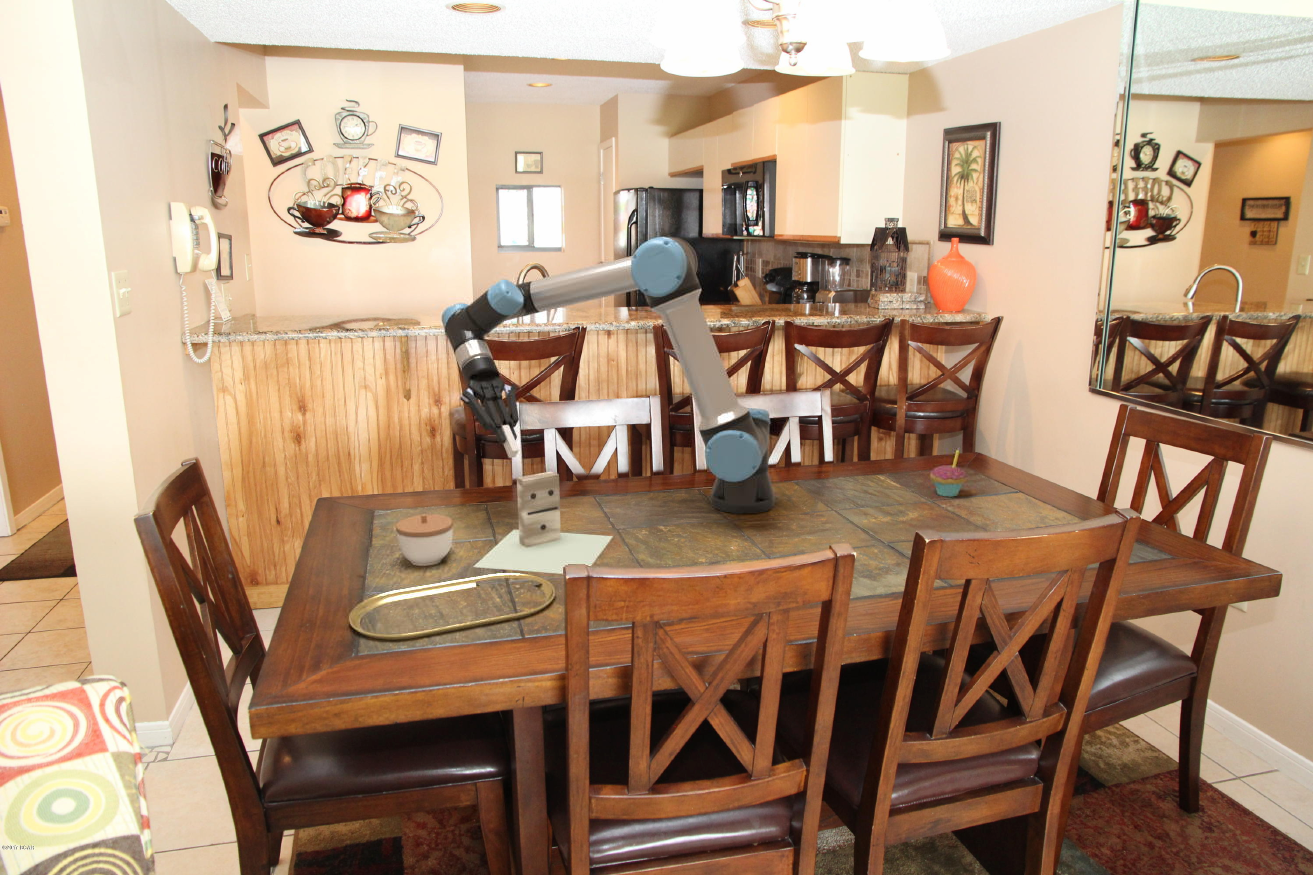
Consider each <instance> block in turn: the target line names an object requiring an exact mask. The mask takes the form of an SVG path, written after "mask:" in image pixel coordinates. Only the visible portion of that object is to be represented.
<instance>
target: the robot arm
mask: <svg viewBox="0 0 1313 875" xmlns="http://www.w3.org/2000/svg"><path fill="white" fill-rule="evenodd" d="M698 266H699V264H698V256H697V253H696V251H695V250H694V248H693V247H692V246H691V245H690V244H689V242H687V241H686V240H685V239H682V238H680V237H675V236H666V237H665V236H657V237H653V238H651V239H649V240H647V241H645V242H643V243H642V244H641V245H640V246H639V247H638V248H637V249H636V250H635V252H634V253H633V255H631V256H626V257H623V258H619V259H615V260H612V261H611V260H610V261H607V262H603V263H599V264H595V265H590V266H586V267H583V268H578V269H574V270H570V271H566V272H562V273H558V274H554V275H550V276H546V277H542V278H538V279H535V280H531V281H526V282H522V283H521V282H520V283H517V284H514V283H513V282H512V281H511V280H508V279H501V280H499V281H498V282H497V283H495V284H493V285H491V286H490V287H489V288H488V289H487V290H486V291H484V292H483V293H482V294H481V295H480V296H479V297H477V298H476V299H475V300H474V301H472V302H471V303H470V304H468V303H463V302H458V303H455V304H454V305H450V306H447V307H446V308H445V310H444V311H443V312H442V314H441V322H442V326H443V329H444V330H443V331H444V334H445V335H446V337H447V339H448V341H449V344H450V346H451V348H452V350H453V354H454V356H455V359H456V361H457V364H458V366H459V368H460V371H461V373H462V376H463V379H464V381H465V385H466V386H467V387H466V389H464V390H462V393H461V395H460V397H459V400H460V401H462V402H463V403H464V404H465V405H466V406H467V407H468V408H469V409H470V411H471V413H472V414H473V415H474V417H475V418H476V420H477V422H478V423H479V424H480V426H482V428H483V430H485V431H486V432H488V431H491V434H493V435H495V436H496V439H497V441H498V443H499V444H503V446H504V448H505V451H506V454H507V457H508V459H510V458H511V459H512V458H516V457H517V455H518V453H519V451H520V448H519V446H518V444H517V442H516V440H517V438H518V435H517V433H516V431H515V428H516V426H517V424H518V423H519V422H520V418H519V411H518V404H517V397H516V392H517V385H515V384H512V385H508V384H506V382H505V381H504V379H502V378H501V376H500V372H499V369H498V367H497V364H496V362H495V360H494V359H493V355H492V353H491V350H490V348H489V346H488V343H487V342H486V338H485V337H486V336H487V335H488V334H490V333H491V332H492V331H493V330H495V329H496V328H497V327H498V326H500V325H502V324H503V323H504V322H507V321H511V320H514V319H518V318H522V317H526V316H530V315H535V314H538V313H543V312H546V311H550V310H555V309H560V308H564V307H567V306H568V307H569V306H572V305H573V306H574V305H576V304H580V303H581V304H582V303H585V302H589V301H594V300H598V299H602V298H607V297H611V296H616V295H620V294H624V293H629V292H632V291H637V290H640V292H641V293H642V294H644V297H645V299H646V302H647V304H648V306H649V308H650V311H651V312H654V313H655V314H658V315H660V317H661V321H662V323H663V325H664V327H665V330H666V332H667V335H668V337H669V339H670V342H671V345H672V347H673V350H674V352H675V355H676V358H677V360H678V362H679V366H680V368H681V370H682V373H683V375H684V377H685V380H686V383H687V385H688V387H689V390H690V393H691V395H692V397H693V400H694V403H695V406H696V408H697V410H698V413H699V415H700V417H701V421H700V423H699V425H698V427H697V429H698V431H699V432H698V433H699V434H700V436H701V439H702V442H703V444H704V447H705V449H704V453H705V454H704V458H705V462H706V465H707V466H706V467H708V469H709V471H710V472H711V474H713V475H714V476H716V478H715V481H714V483H713V486H712V489H711V493H710V506H711V507H712V508H714V509H716V510H719V511H721V512H725V513H731V514H744V515H745V514H748V515H749V514H751V515H752V514H760V513H764V512H767V511H771V510H772V509H774V508H775V506H776V494H775V491H774V488H773V485H772V482H771V477H770V474H769V456H770V455H769V453H770V452H769V451H770V450H769V449H770V425H771V418H770V412H769V411H768V410H767V409H763V408H756V407H755V408H754V407H746V406H743V405H741V404H740V403H739V401H738V399H737V396H736V393H735V391H734V388H733V386H732V383H731V381H730V378H729V376H728V374H727V373H728V372H727V371H726V368H725V366H724V363H723V360H722V358H721V356H720V353H719V350H718V347H717V345H716V342H715V340H714V337H713V334H712V332H711V329H710V327H709V324H708V322H707V319H706V317H705V314H704V310H702V307H701V304H700V301H699V298H700V295H701V292H702V287H701V285H700V281H699V279H698V277H697V274H696V273H697V271H698ZM503 391H504V394H505V395H504V396H505V397H506V404H505V402H504V399H503V398H504V397H503ZM478 400H479V401H478ZM506 405H507V407H506Z"/></svg>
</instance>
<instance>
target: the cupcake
mask: <svg viewBox="0 0 1313 875" xmlns="http://www.w3.org/2000/svg"><path fill="white" fill-rule="evenodd" d="M959 455H960V447H958V449H957V450H956V451H955V455H954V459H953V464H952V465H948V464H946V465H945V464H944V465H938V466H936V467H934V468H933V469H931V471H930V474H929V477H930V480H931V481H932V482H933V483H934V485H935V489H936V493H937V495H938V496H942V497H947V498H948V497H949V498H950V497H951V498H952V497H957V496H958V495H959V492H960V490H961V487H962V486H963V484H966V482H967V478H968V474H967V472H965V470H963V469H962V468H960V467H959V466H957V461H958V458H959Z"/></svg>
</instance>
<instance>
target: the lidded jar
mask: <svg viewBox="0 0 1313 875" xmlns="http://www.w3.org/2000/svg"><path fill="white" fill-rule="evenodd" d="M453 526H454V524H453V519H452V518H450V517H449V516H446V515H443V514H442V515H440V514H426V513H424V514H421V515H414V516H409V517H407V518H403V519H401V520H400V521H398V522H397V523H396V525H395V530H396V535H397V543H398V546H399V549H400V551H401V553H402V555H403V556H404V557H405V559H407V560H408V561H410V563H411V564H412V565H413V566H419V567H427V566H433V565H438V564H439V563H441V562H442V561H443V559H444V558H445V557H446V555H447V554H448V553H449V551H450V549H451V547H452V544H453Z"/></svg>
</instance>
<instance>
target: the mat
mask: <svg viewBox="0 0 1313 875" xmlns="http://www.w3.org/2000/svg"><path fill="white" fill-rule="evenodd" d="M613 538H614V536H613V535H604V534H603V535H601V534H599V535H597V534H589V533H588V534H587V533H585V534H584V533H574V532H573V533H568V532H561V540H557V541H552V542H548V543H543V544H539V545H535V546H530V547H525V546H523V545H521V544H520V543H519V529H513V530H511V531H510V532H509V533H508V534H507V535H506V536H505V537H504V538H503V539H501V541H499V543H497V544H496V545H495V546H494V547H493V548H492V549H491V550H490V551H489V552H488V553H487V554H485V555H484V556H483V557H482V558H481V559H480V560H479V561H478V562H476V563H475V565H473V568H479V569H480V568H481V569H491V570H492V569H494V570H506V571H517V572H519V571H521V572H532V573H534V572H535V573H544V574H545V573H547V574H557V575H558V574H559V575H564V574H563V567H564V566H565V565H568V564H585V565H588V566H591V567H592V565H593V564H594V563H595V561H596V560H597V559H598V557H599V556H600V555H601V554H602V552H603V551H604V549H605V548H606V547H607V545H609V543H610V541H611V540H612V539H613Z"/></svg>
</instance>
